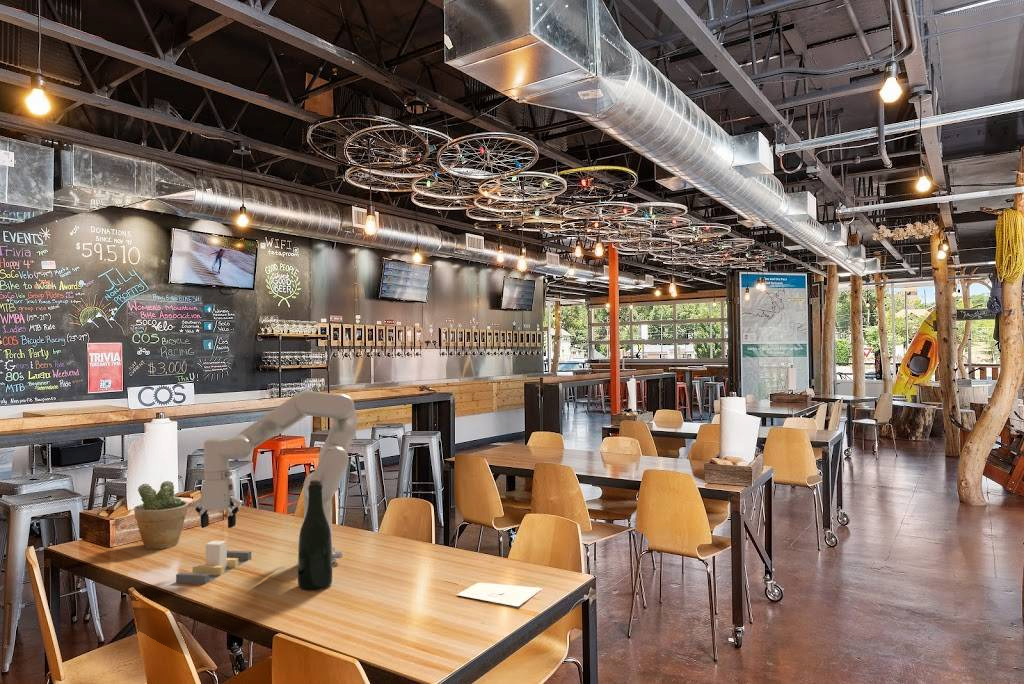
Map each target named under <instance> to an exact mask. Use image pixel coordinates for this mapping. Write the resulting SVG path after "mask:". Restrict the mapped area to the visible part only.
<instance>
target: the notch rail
mask: <svg viewBox="0 0 1024 684" xmlns="http://www.w3.org/2000/svg"><path fill="white" fill-rule="evenodd" d="M251 560H252V550H250V551H248V550H227V568H226V569H224V566H218V565H206V564H195V565H192V572H178V573H177V574H176V575H175V583H177V584H191V585H192V584H193V585H195V584H196V585H206V584H208V583H210V582H212V581H214V580H216V579H218V578H219V577H221V576H222V575H223V576H224V574H226V573H229V572H230V571H232V570H234V569H235V568H237V567H239V566H241V565H242V564H243V565H244V564H245V563H246V562H248V561H251Z"/></svg>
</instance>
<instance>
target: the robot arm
mask: <svg viewBox="0 0 1024 684" xmlns="http://www.w3.org/2000/svg"><path fill="white" fill-rule="evenodd" d="M309 416H311V417H317V418H327V419H328V418H329V419H332V424H331V425H332V426H331V428H330V431H329V433H328V436H327V437H326V439H325V441H324V444H323V445H322V447H321V449H320V451H319V452H318V457H317V460H318V463H317V465H316V468H315V470H314V471H313V472H311V473H309V474H308V475H307V476H306V478H305V479H304V482H303V486H302V487H303V488H302V489H303V490H302V491H303V520H304V519H305V516H306V513H307V508H308V493H309V492H308V486H309V485H310V481H312V480H320V481H321V484H322V486H323V489H322V499H323V509H324V513H325V516H326V518H327V521H328V523H329V526H330V530H331V537H332V538H333V497H334V495H335V494H336V491H337V490H338V488H339V486H340V484H341V482H342V479H343V478H344V477H343V476H344V475H345V473H346V471H347V468H348V465H349V461H350V460H349V454H348V451H349V449H350V447H351V444H352V441H353V439H354V437H355V435H356V432H357V427H358V415H357V412H356V409H355V403H354V400H353V398H351V396H349V395H347V394H344V393H329V392H322V391H321V392H320V391H313V390H310V389H304V390H303V389H302V390H300V391H299V392H297V393H295V394H294V395H293V396H292V397H290V398H289V399H287V400H286V401H284V402H283V403H282V404H280V405H278V406H277V407H275V408H274V409H272V410H271V411H270V412H268V413H266V414H265V415H264V416H263V417H261V418H260V419H258V420H257V421H255V422H253V423H252V424H251V425H249V426H248V427H246V428H245V429H243V430H242V431H240V432H238V433H237V434H236V435H235V436H233V438H229V439H227V438H224V437H221V438H220V437H216V438H215V437H214V438H209V439H206V440H204V442H203V463H204V466H203V468H204V469H203V470H204V475H203V476H204V480H203V481H202V484H201V485H202V486H201V494H200V498H198V499H195V501H193V502H192V505H193V506H194V508H195V512H196V513H198V516H199V517H200V527H201V529H204V528H207V527H209V526H210V520H209V519H210V516H209V513H208V512H209V511H226V513H227V514H228V516H227V527H228V529H231V528H233V527H235V526H236V524H237V514H238V512H239V511H240V510H241V507H242V505H243V503H244V502H243V500H241V499H239V498H237V497H236V492H235V486H234V481H233V479H232V478H230V477H232V476H233V472H232V471H230V460H244V459H247V458H249V457H250V456H251V454H252V452H253V450H254V449H255V448H257V447H259V446H260V445H261V444H263V443H264V442H266V441H267V440H269V439H271V438H273V437H275V436H278V435H281V434H283V433H285V432H286V431H288V430H290V428H292V427H294V426H295V425H296V424H298V423H299V422H301V421H303V420H304V419H305V418H307V417H309ZM342 558H343V552H342V550H336V548H335V546H332V564H333V563H335V562H336V561H337V559H342Z"/></svg>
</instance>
